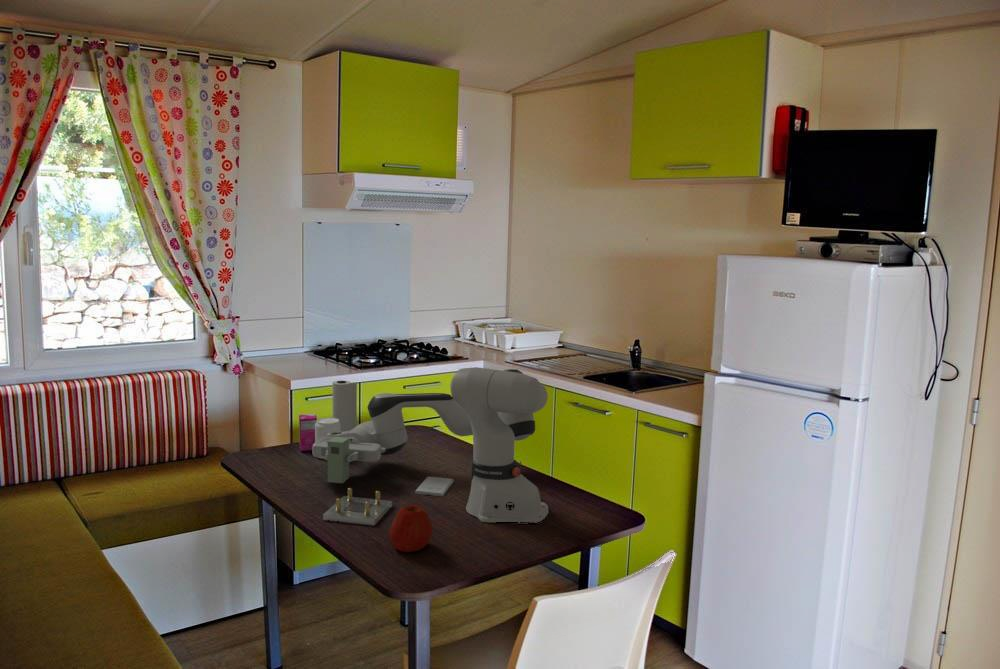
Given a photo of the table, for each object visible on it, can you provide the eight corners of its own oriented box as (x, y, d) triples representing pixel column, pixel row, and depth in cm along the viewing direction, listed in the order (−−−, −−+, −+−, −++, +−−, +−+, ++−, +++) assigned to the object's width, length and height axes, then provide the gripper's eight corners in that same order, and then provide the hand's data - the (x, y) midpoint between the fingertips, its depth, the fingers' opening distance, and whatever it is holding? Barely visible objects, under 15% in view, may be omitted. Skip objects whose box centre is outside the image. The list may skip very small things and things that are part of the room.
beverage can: (316, 452, 268) (316, 417, 266) (341, 452, 269) (341, 417, 267) (313, 460, 260) (313, 423, 258) (339, 460, 261) (339, 423, 259)
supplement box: (299, 447, 273) (298, 414, 271) (317, 446, 275) (316, 413, 273) (299, 452, 267) (299, 418, 266) (318, 451, 269) (318, 417, 267)
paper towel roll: (328, 442, 279) (328, 381, 275) (341, 438, 284) (341, 379, 280) (343, 446, 275) (343, 385, 271) (356, 442, 280) (356, 382, 276)
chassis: (391, 506, 223) (392, 488, 222) (374, 525, 210) (374, 507, 209) (343, 501, 226) (343, 483, 225) (323, 520, 212) (323, 501, 211)
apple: (432, 556, 193) (432, 514, 191) (388, 556, 192) (388, 514, 190) (432, 538, 203) (433, 498, 201) (390, 538, 202) (391, 498, 200)
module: (349, 477, 237) (349, 437, 235) (342, 483, 232) (342, 442, 230) (334, 476, 238) (334, 436, 236) (327, 481, 233) (327, 441, 231)
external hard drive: (453, 484, 244) (442, 498, 232) (426, 481, 245) (414, 495, 233) (453, 478, 244) (442, 493, 232) (427, 476, 245) (414, 490, 233)
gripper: (387, 458, 245) (371, 472, 231) (323, 452, 249) (304, 466, 235) (387, 437, 244) (371, 451, 230) (323, 432, 248) (304, 445, 234)
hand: (337, 458), depth 233 cm, fingers closed on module, 4 cm apart
